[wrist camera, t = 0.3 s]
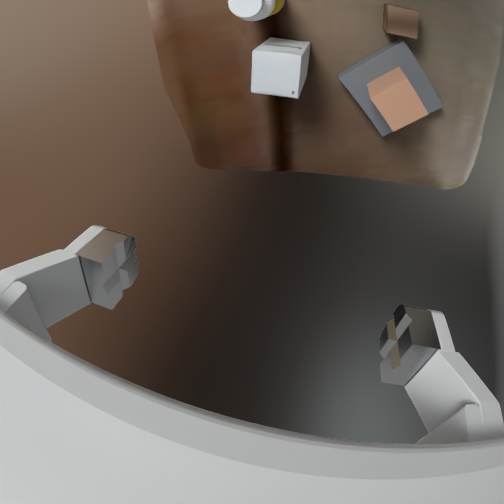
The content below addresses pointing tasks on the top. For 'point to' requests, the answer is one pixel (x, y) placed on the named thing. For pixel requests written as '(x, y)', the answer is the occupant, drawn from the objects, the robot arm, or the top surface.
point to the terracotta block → (396, 99)
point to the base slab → (380, 65)
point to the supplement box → (280, 67)
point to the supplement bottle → (255, 8)
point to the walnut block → (401, 21)
